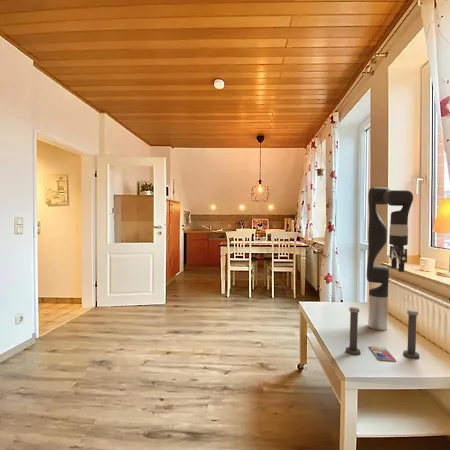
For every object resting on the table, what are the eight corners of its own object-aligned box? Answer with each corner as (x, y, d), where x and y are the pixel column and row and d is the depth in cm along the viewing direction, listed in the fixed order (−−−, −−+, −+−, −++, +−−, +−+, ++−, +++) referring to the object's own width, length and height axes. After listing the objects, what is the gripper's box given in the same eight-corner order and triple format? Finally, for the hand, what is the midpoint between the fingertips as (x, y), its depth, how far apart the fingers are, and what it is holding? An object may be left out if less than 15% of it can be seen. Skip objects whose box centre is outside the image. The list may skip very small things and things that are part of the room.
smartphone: (385, 346, 153) (397, 360, 138) (385, 349, 153) (397, 363, 138) (368, 345, 154) (378, 359, 139) (368, 347, 154) (378, 361, 139)
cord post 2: (401, 352, 148) (402, 308, 148) (415, 353, 148) (416, 309, 147) (406, 358, 142) (408, 312, 142) (421, 359, 142) (423, 313, 141)
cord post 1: (344, 349, 151) (345, 306, 150) (358, 350, 150) (359, 307, 150) (347, 354, 145) (348, 310, 145) (362, 355, 144) (363, 310, 144)
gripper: (384, 233, 161) (383, 267, 162) (395, 235, 147) (394, 272, 148) (401, 233, 160) (400, 267, 161) (414, 235, 146) (412, 273, 147)
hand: (397, 269), depth 154 cm, fingers open, 8 cm apart
